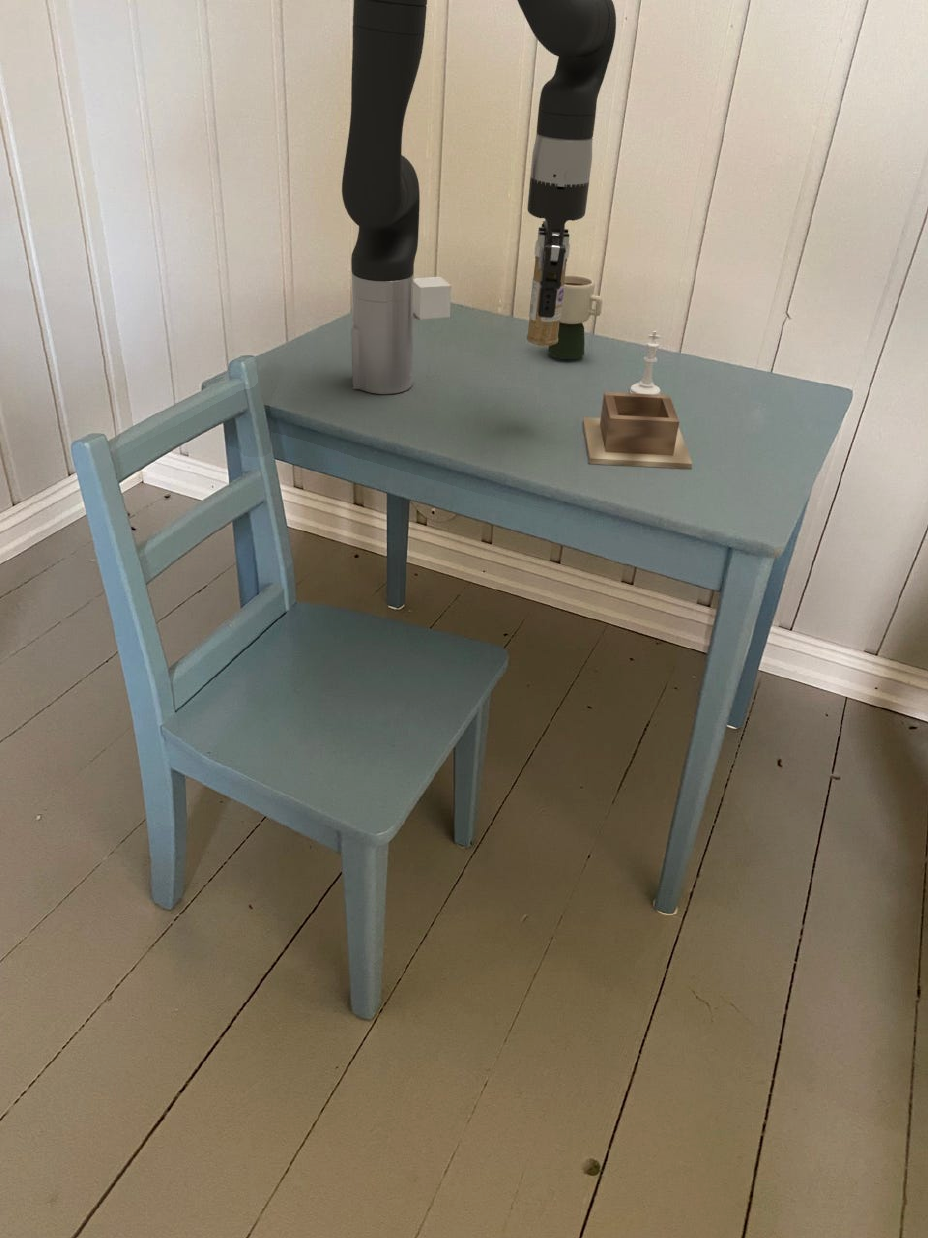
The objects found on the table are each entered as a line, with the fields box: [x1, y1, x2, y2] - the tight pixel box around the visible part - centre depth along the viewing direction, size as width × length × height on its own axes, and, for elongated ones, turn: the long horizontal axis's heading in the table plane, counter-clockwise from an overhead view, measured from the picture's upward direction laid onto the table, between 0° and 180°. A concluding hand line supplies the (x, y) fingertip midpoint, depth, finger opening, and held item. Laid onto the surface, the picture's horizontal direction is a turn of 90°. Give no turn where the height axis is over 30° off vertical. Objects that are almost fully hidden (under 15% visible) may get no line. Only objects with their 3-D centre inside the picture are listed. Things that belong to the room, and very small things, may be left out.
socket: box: [582, 391, 693, 470], centre depth 131 cm, size 14×14×6 cm
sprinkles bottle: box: [526, 239, 571, 347], centre depth 126 cm, size 5×5×14 cm
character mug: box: [547, 274, 603, 360], centre depth 158 cm, size 11×7×13 cm, turn 61°
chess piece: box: [629, 330, 662, 395], centre depth 147 cm, size 5×5×10 cm
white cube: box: [413, 276, 452, 320], centre depth 176 cm, size 6×6×6 cm
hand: (545, 310), depth 127 cm, fingers closed on sprinkles bottle, 4 cm apart
